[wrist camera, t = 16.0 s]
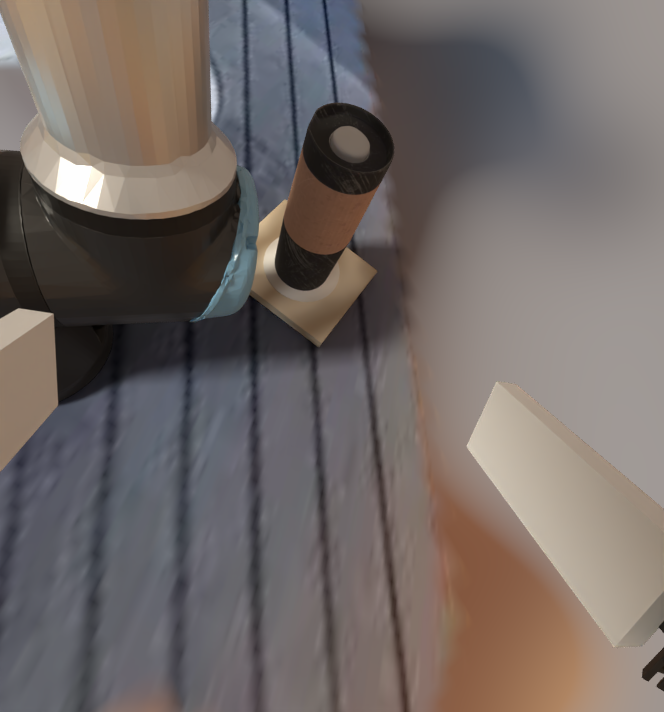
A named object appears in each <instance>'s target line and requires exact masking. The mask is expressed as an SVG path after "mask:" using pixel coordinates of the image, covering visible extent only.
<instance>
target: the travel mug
mask: <svg viewBox="0 0 664 712" xmlns="http://www.w3.org/2000/svg"><path fill="white" fill-rule="evenodd" d="M393 156H394V144H393V140H392V137H391V135H390V133H389V131H388V130H387V128H386V127H385V126H384V125H383V123H382V122H381V121H380V120H379V119H378V118H376V117H375V116H374V115H373V114H371V113H369V112H368V111H366V110H364V109H362V108H360V107H358V106H355V105H351V104H347V103H331V104H326V105H324V106H321V107H320V108H318V109H317V110H316V112H315V114H314V116H313V118H312V120H311V122H310V124H309V126H308V129H307V133H306V137H305V140H304V144H303V147H302V151H301V155H300V158H299V162H298V166H297V169H296V173H295V176H294V180H293V184H292V187H291V191H290V194H289V198H288V202H287V205H286V209H285V213H284V217H283V222H282V226H281V231H280V236H279V241H278V245H277V250H276V255H275V269H276V272H277V274H278V276H279V278H280V279H281V280H282V281H283V282H284V283H285V284H286V285H288V286H289V287H291V288H294V289H296V290H301V291H310V290H314V289H316V288H318V287H320V286H321V285H322V284H323V283H324V282H325V281H326V279H327V278H328V276H329V275H330V273H331V271H332V270H333V268H334V266H335V265H336V263H337V261H338V260H339V258H340V256H341V255H342V253H343V252H344V250H345V248H346V247H347V245H348V243H349V242H350V240H351V238H352V236H353V234H354V232H355V230H356V228H357V227H358V225H359V223H360V221H361V219H362V217H363V215H364V213H365V211H366V209H367V208H368V206H369V204H370V202H371V200H372V198H373V196H374V194H375V192H376V191H377V189H378V187H379V185H380V183H381V181H382V179H383V177H384V175H385V174H386V172H387V170H388V168H389V166H390V164H391V162H392V159H393Z"/></svg>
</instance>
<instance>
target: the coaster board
mask: <svg viewBox="0 0 664 712" xmlns="http://www.w3.org/2000/svg"><path fill="white" fill-rule="evenodd" d="M287 202H288V201H286V200H284V201H283V202H282V203H281V204H280V205H278V206H277V207H276V208H275V209H274V210H273V211H272V212H271V213H270V214H269V215H268V216H267V217H266V218H264V219H263V220H262V221H261V222H260V223H259V233H258V238H257V241H256V246H257V251H258V253H257V264H256V270H255V275H254V280H253V284H252V288H251V291H250V294H249V295H250V296H252V297H253V298H254V299H256V300H257V301H258V302H260V303H261V304H262V305H264V306H265V307H266V308H268V309H269V310H270V311H271V312H273V313H274V314H275V315H277V316H278V317H279V318H281V319H282V320H283V321H285V322H286V323H287V324H288V325H290V326H291V327H292V328H294V329H295V330H296V331H298V332H299V333H300V334H302V335H303V336H304V337H305V338H307V339H308V340H309V341H311V342H312V343H313V344H315V345H316V346H317V347H319V346H320V345H321V344H322V343H323V341H324V340H325V339H326V337H327V336H328V335H329V334H330V332H331V331H332V330H333V328H334V327H335V326H336V324H337V323H338V322H339V321H340V319H341V318H342V317H343V315H344V314H345V313H346V312H347V310H348V309H349V308H350V306H351V305H352V304H353V303H354V301H355V300H356V299H357V297H358V296H359V295H360V293H361V292H362V291H363V290H364V288H365V287H366V286H367V284H368V283H369V282H370V281H371V279H372V278H373V277H374V275H375V274H376V273H377V270H376V269H374V268H373V267H372V266H370V265H369V264H368V263H366V262H365V261H364V260H363V259H361V258H360V257H359V256H357V255H356V254H355V253H354V252H352V251H351V250H350V249H348V248H347V247H346V248H345V250H344V252H343V253H342V255H341V256H340V258H339V260H338V261H337V263H336V265H335V266H334V268H333V270H332V271H331V273H330V275H329V276H328V278H327V279H326V281H325V282H324V283H323V284H322V285H321V286H320V287H318V288H316V289H314V290H310V291H301V290H296V289H294V288H291V287H289V286H288V285H286V284H285V283H284V282H283V281H282V280H281V279H280V278H279V276H278V274H277V272H276V269H275V255H276V250H277V245H278V241H279V236H280V231H281V226H282V222H283V217H284V213H285V209H286V205H287Z"/></svg>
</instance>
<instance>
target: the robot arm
mask: <svg viewBox="0 0 664 712" xmlns="http://www.w3.org/2000/svg"><path fill="white" fill-rule="evenodd" d="M0 13H1V16H2V18H3V21H4V24H5V26H6V29H7V32H8V34H9V37H10V39H11V42H12V45H13V47H14V50H15V53H16V55H17V58H18V60H19V63H20V66H21V68H22V71H23V73H24V76H25V79H26V81H27V84H28V87H29V89H30V92H31V94H32V97H33V100H34V102H35V105H36V108H37V110H38V114H37V115H36V116H35V117H34V118H33V119H32V121H31V122H30V123H29V124H28V125H27V127H26V128H25V131H24V132H23V135H22V138H21V141H20V151H10V150H9V151H8V150H0V472H1V471H2V469H3V468H4V467H5V466H6V465H7V464H8V462H9V461H10V460H11V459H12V458H13V457H14V456H15V454H16V453H17V452H18V451H19V450H20V449H21V448H22V446H23V445H24V444H25V443H26V442H27V441H28V439H29V438H30V437H31V436H32V435H33V434H34V433H35V431H36V430H37V429H38V428H39V427H40V426H41V424H42V423H43V422H44V421H45V420H46V419H47V418H48V416H49V415H50V414H51V413H52V412H53V411H54V409H55V408H56V407H57V406H58V402H59V401H61V400H63V399H65V398H67V397H69V396H71V395H73V394H74V393H76V392H78V391H79V390H80V389H82V388H83V387H84V386H86V385H87V384H88V383H89V382H90V381H91V380H92V379H93V378H94V377H95V376H96V375H97V374H98V372H99V371H100V370H101V368H102V367H103V365H104V364H105V362H106V360H107V358H108V356H109V353H110V350H111V346H112V341H113V326H112V324H135V323H158V322H181V321H189V322H197V321H200V320H202V319H204V318H213V317H222V316H229V315H232V314H234V313H236V312H237V311H238V310H239V309H241V308H242V306H243V305H244V304H245V302H246V300H247V298H248V296H249V294H250V291H251V288H252V284H253V280H254V275H255V270H256V264H257V253H258V251H257V246H256V241H257V238H258V233H259V210H258V199H257V193H256V188H255V184H254V181H253V178H252V176H251V175H250V173H249V171H248V170H246V169H245V168H243V167H240V166H238V165H237V162H236V154H235V151H234V148H233V146H232V144H231V142H230V141H229V140H228V138H227V137H226V136H225V135H224V133H223V132H222V131H221V130H220V129H219V128H218V127H217V126H216V125H215V124H214V123H213V122H212V121H211V88H210V45H209V3H208V0H0ZM466 447H467V448H468V449H469V451H470V452H471V454H472V455H473V456H474V458H475V459H476V460H477V462H478V463H479V465H480V466H481V467H482V469H483V470H484V471H485V473H486V474H487V475H488V477H489V478H490V479H491V481H492V482H493V484H494V485H495V486H496V488H497V489H498V490H499V492H500V493H501V494H502V496H503V497H504V499H505V500H506V501H507V503H508V504H509V505H510V506H511V508H512V509H513V510H514V512H515V513H516V515H517V516H518V518H519V519H520V520H521V522H522V523H523V524H524V526H525V527H526V528H527V530H528V531H529V532H530V534H531V535H532V536H533V538H534V539H535V541H536V542H537V543H538V545H539V546H540V547H541V549H542V550H543V551H544V553H545V554H546V555H547V557H548V558H549V560H550V561H551V562H552V564H553V565H554V566H555V568H556V569H557V570H558V572H559V573H560V575H561V576H562V577H563V579H564V580H565V581H566V583H567V584H568V585H569V587H570V588H571V589H572V591H573V592H574V594H575V595H576V596H577V598H578V599H579V600H580V602H581V603H582V604H583V605H584V607H585V608H586V610H587V611H588V612H589V614H590V615H591V617H592V618H593V619H594V621H595V622H596V623H597V625H598V626H599V627H600V629H601V630H602V631H603V633H604V634H605V636H606V637H607V638H608V640H609V641H610V642H611V644H612V645H613V646H614V648H618V647H638V646H643V645H644V644H645V643H646V641H647V640H648V639H649V638H650V637H651V636H652V635H653V634H654V633H655V632H656V631H657V629H658V628H660V629H661V630H662V632H663V633H664V509H663V508H662V507H661V506H659V505H658V504H657V503H656V502H655V501H654V500H652V499H651V498H650V497H649V496H648V495H646V494H645V493H644V492H643V491H642V490H640V489H639V488H638V487H637V486H636V485H635V484H633V483H632V482H631V481H630V480H629V479H628V478H626V477H625V476H624V475H623V474H621V473H620V472H619V471H618V470H617V469H616V468H615V467H613V466H612V465H611V464H610V463H608V462H607V461H606V460H605V459H604V458H603V457H602V456H600V455H599V454H598V453H596V451H594V450H593V449H592V448H591V447H590V446H589V445H587V444H586V443H585V442H584V441H583V440H581V439H580V438H579V437H578V436H577V435H575V434H574V433H573V432H572V431H570V430H569V429H568V428H567V427H566V426H565V425H564V424H562V423H561V422H560V421H559V420H558V419H557V418H555V417H554V416H553V415H552V414H551V413H549V412H548V411H547V410H546V409H545V408H543V407H542V406H541V405H540V404H539V403H538V402H536V401H535V400H534V399H533V398H532V397H530V396H529V395H528V394H527V393H526V392H525V391H523V390H522V389H521V388H520V387H519V386H517V385H516V384H512V383H505V382H499V381H497V382H496V384H495V386H494V388H493V390H492V392H491V395H490V397H489V399H488V401H487V403H486V405H485V407H484V410H483V412H482V414H481V416H480V418H479V420H478V423H477V425H476V427H475V429H474V431H473V433H472V436H471V438H470V440H469V442H468V444H467V446H466ZM657 672H660V673H663V674H664V648H663V649H662V650H661V651H660V652H659V653H658V654H657V655H656V656H655V657H654V658H653V659H652V660H651V661H650V662H649V663H648V665H646V666H645V668H644V669H643V672H642V678H643V679H645V680H646V681H649V680H650V679H651V678H652V677H653V676H654V675H655V674H656V673H657ZM657 687H658V688H659V689H661V690H663V691H664V678H663V679H662V680H660V682H659V683H658V684H657Z"/></svg>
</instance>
